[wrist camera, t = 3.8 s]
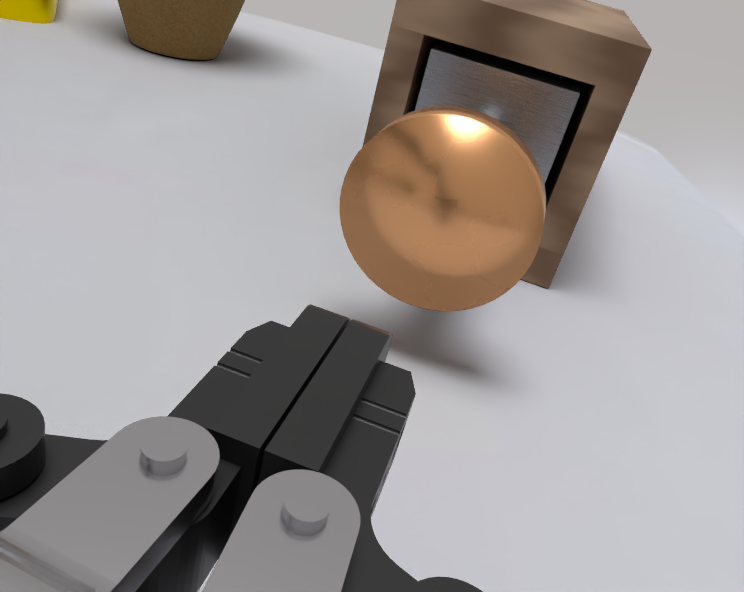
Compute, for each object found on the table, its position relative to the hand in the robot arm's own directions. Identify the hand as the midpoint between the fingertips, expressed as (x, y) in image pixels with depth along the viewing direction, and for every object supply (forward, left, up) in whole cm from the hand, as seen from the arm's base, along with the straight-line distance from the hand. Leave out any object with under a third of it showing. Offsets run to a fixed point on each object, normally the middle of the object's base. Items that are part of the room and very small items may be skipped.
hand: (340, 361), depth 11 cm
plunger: (0, +22, -5) cm, 23 cm away
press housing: (0, +34, -8) cm, 35 cm away
